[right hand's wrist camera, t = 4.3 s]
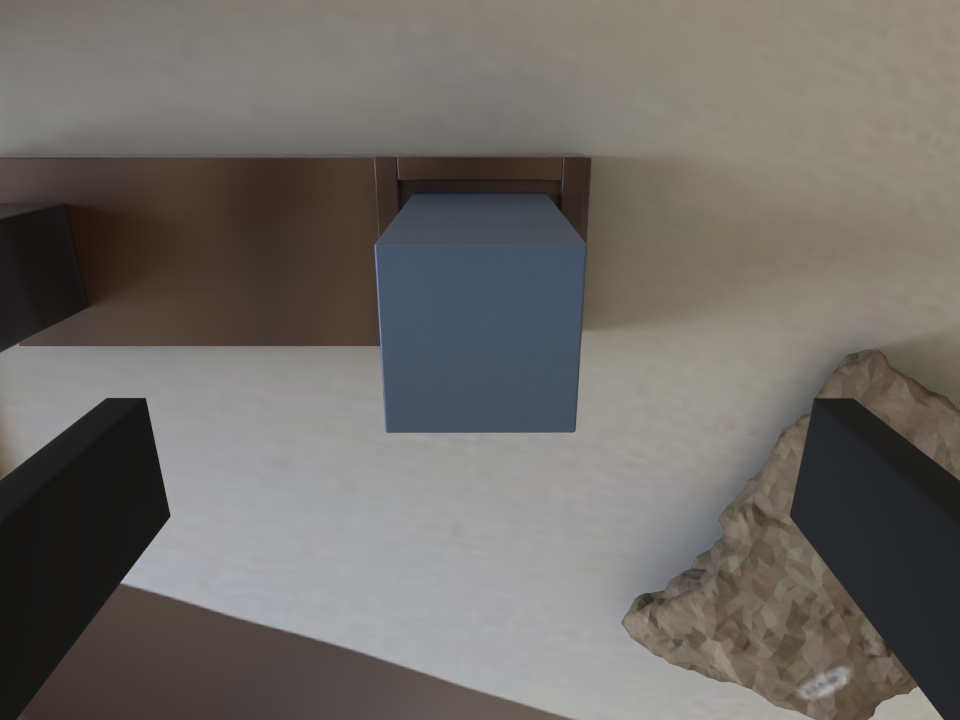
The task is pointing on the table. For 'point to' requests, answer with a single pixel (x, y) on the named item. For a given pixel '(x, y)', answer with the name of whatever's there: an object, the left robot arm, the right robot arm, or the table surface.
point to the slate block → (480, 314)
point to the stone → (793, 574)
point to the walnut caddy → (224, 242)
